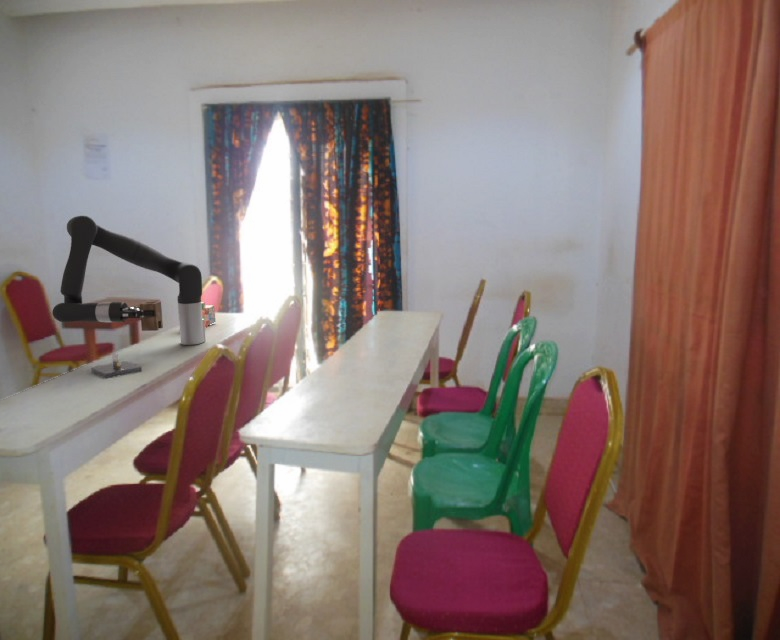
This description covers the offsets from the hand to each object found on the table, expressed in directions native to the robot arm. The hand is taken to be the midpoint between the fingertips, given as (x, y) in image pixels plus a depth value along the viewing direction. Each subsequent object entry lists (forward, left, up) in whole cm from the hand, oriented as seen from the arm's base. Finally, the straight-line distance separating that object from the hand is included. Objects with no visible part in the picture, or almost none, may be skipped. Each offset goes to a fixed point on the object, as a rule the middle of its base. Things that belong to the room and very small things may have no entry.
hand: (157, 311), depth 217 cm
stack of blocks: (-51, -33, -18) cm, 64 cm away
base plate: (+20, 0, -18) cm, 27 cm away
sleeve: (+1, -2, -6) cm, 7 cm away
